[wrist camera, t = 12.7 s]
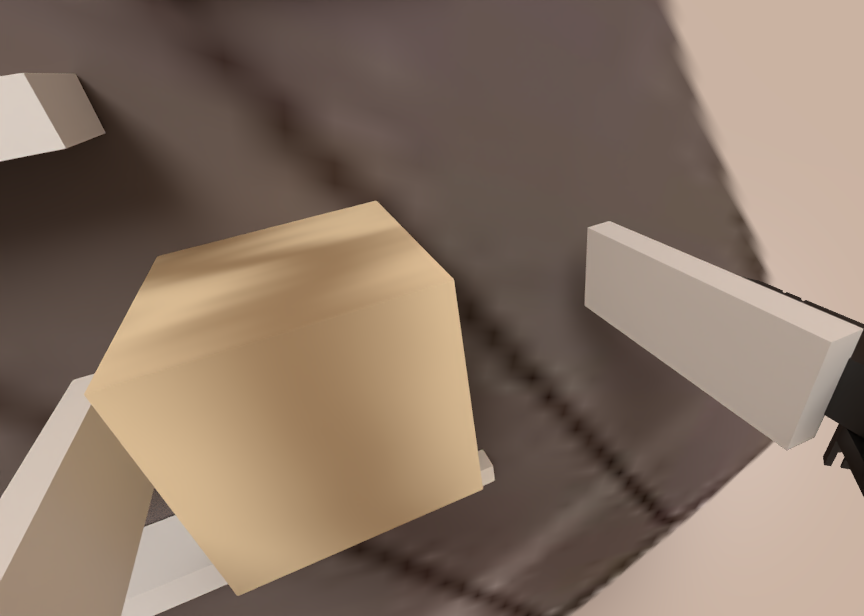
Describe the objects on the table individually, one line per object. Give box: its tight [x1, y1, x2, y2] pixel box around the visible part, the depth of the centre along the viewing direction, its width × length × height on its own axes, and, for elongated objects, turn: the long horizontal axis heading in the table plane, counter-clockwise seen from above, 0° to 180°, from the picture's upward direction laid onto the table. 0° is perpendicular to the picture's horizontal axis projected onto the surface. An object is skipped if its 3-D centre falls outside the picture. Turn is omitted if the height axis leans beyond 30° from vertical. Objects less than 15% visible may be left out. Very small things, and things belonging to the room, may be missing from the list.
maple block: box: [84, 201, 483, 596], centre depth 11 cm, size 6×6×6 cm
